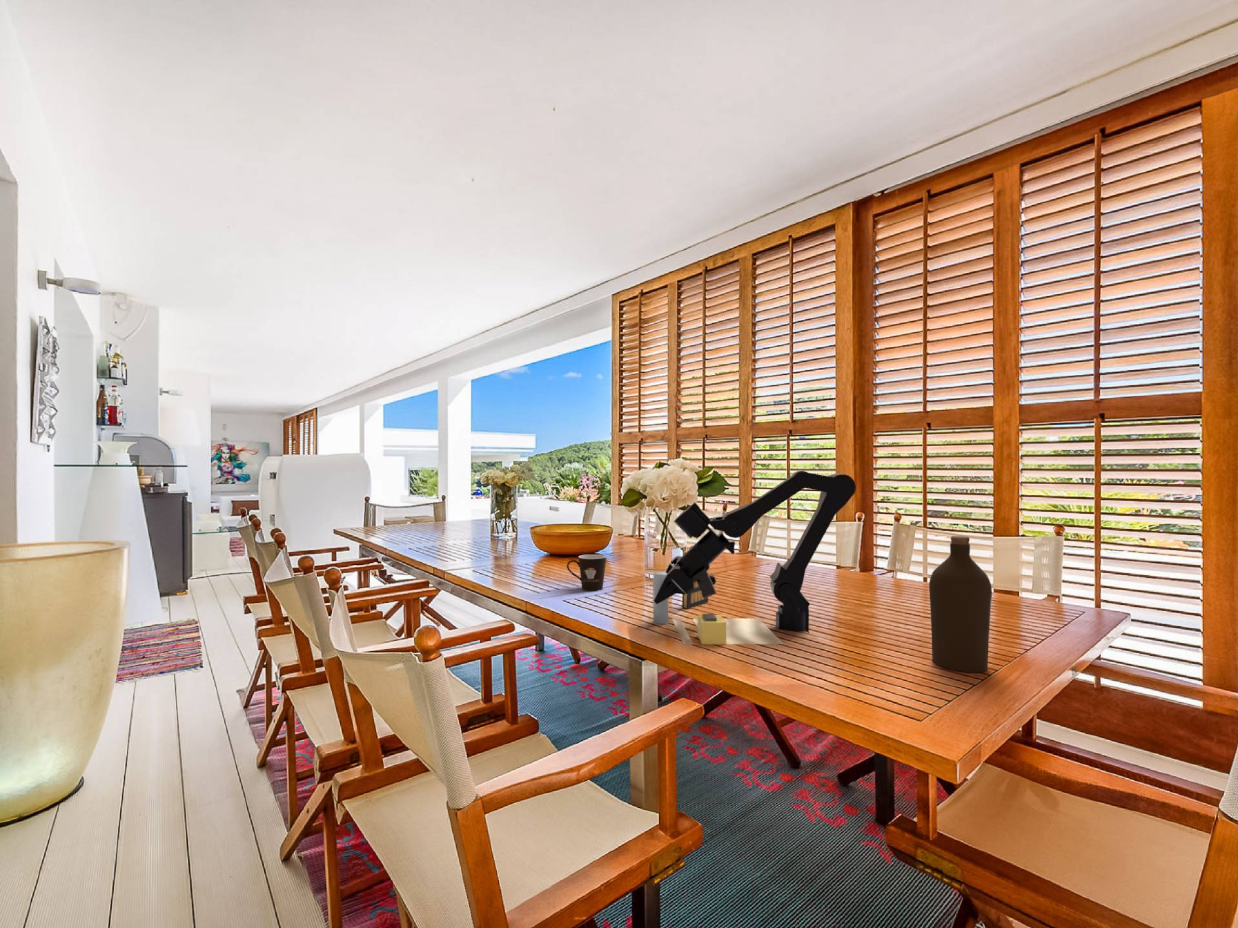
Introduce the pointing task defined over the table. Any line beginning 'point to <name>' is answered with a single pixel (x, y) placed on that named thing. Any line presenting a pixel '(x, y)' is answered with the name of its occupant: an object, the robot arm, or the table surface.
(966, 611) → the olive oil
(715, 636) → the block
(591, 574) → the coffee mug
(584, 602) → the table surface
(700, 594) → the ammunition clip
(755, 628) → the panel
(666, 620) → the light grey cylinder
